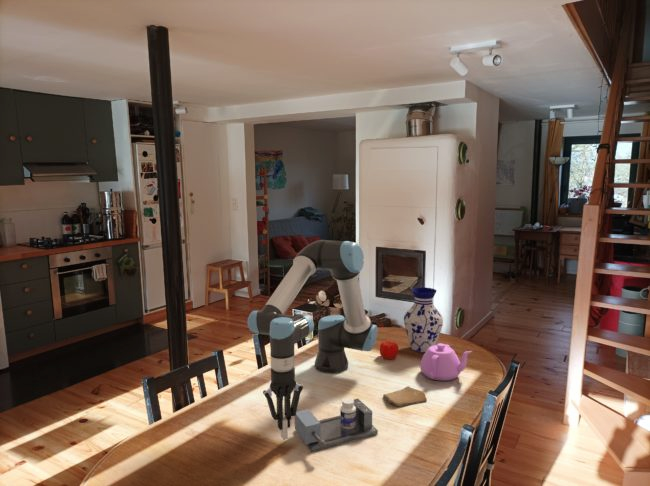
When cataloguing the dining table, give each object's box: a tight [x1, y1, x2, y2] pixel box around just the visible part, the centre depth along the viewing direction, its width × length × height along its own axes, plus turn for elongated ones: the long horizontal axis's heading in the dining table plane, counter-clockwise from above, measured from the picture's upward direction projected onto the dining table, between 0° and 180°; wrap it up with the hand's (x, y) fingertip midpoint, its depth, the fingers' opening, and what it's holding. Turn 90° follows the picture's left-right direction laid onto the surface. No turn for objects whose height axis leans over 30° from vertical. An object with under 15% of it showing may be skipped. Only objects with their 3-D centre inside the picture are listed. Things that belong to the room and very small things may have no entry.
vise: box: [295, 398, 379, 453], centre depth 158 cm, size 14×24×8 cm, turn 115°
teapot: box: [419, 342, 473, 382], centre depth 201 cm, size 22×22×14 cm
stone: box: [383, 386, 428, 407], centre depth 182 cm, size 11×16×3 cm
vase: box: [403, 286, 444, 354], centre depth 231 cm, size 19×19×30 cm
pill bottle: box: [339, 397, 356, 429], centre depth 159 cm, size 5×5×9 cm
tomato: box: [379, 340, 399, 360], centre depth 222 cm, size 9×9×8 cm
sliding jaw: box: [294, 408, 325, 448], centre depth 150 cm, size 18×5×6 cm, turn 25°
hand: (284, 437), depth 150 cm, fingers closed
